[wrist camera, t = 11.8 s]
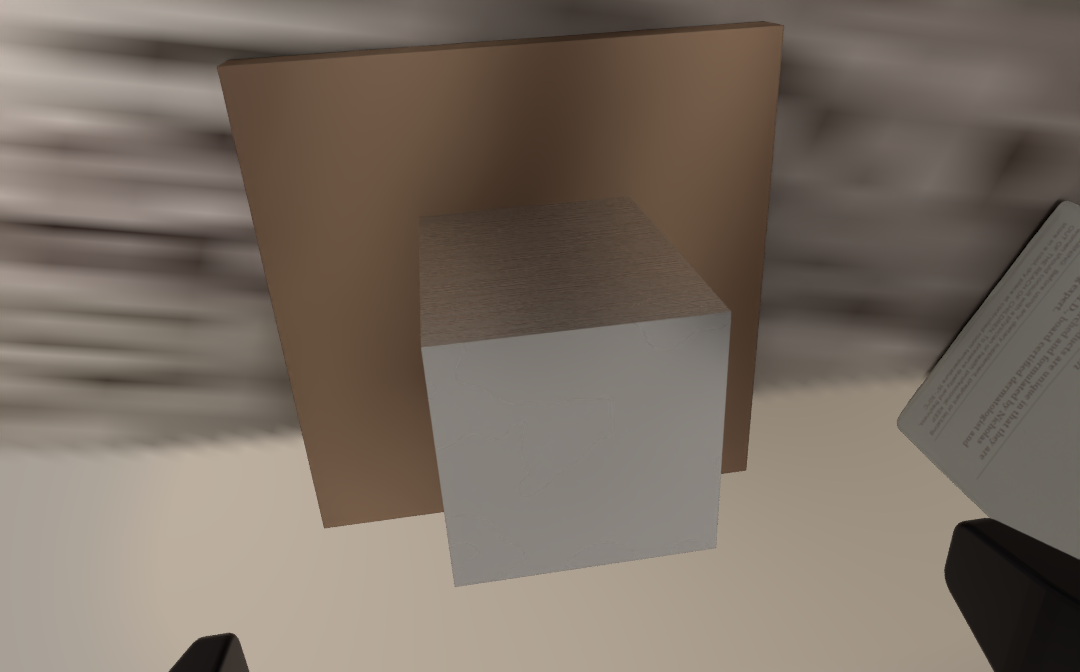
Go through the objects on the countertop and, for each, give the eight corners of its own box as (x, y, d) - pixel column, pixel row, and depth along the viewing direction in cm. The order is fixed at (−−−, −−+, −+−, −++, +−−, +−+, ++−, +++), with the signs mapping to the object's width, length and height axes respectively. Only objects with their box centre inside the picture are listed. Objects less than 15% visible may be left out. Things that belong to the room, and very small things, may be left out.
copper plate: (763, 21, 16) (783, 25, 15) (732, 449, 21) (746, 470, 20) (228, 59, 15) (216, 66, 14) (328, 502, 20) (323, 528, 19)
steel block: (628, 196, 16) (731, 311, 11) (629, 377, 19) (715, 547, 13) (418, 216, 16) (420, 347, 11) (443, 400, 18) (454, 586, 13)
